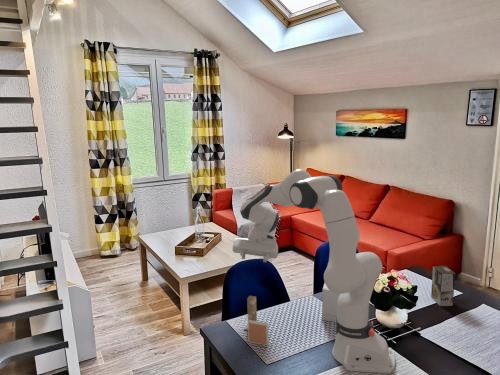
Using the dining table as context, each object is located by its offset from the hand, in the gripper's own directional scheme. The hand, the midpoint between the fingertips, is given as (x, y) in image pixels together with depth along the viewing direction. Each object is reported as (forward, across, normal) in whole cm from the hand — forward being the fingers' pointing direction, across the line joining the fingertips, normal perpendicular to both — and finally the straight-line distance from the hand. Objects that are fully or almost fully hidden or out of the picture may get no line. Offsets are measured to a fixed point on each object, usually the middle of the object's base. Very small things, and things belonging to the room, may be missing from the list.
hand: (254, 259), depth 163 cm
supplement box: (+4, +39, +23) cm, 45 cm away
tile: (+24, +6, +22) cm, 33 cm away
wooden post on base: (+14, +3, +25) cm, 29 cm away
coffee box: (-12, +91, +19) cm, 94 cm away
